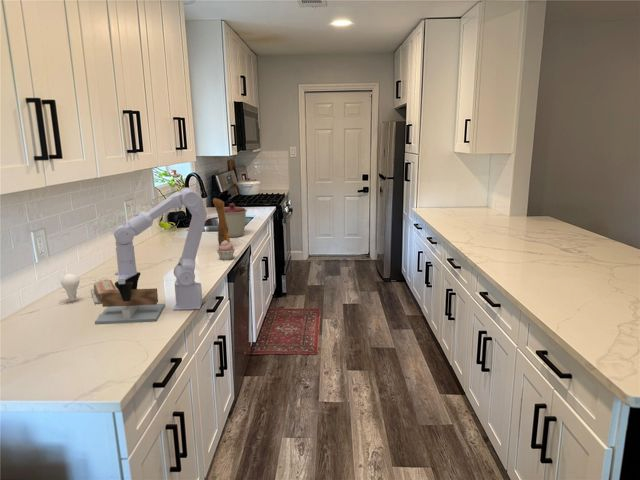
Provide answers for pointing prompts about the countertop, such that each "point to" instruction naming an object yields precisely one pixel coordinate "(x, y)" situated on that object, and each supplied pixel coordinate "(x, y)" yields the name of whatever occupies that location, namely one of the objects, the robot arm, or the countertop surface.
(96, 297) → the packaged product
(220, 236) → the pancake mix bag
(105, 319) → the ridge board
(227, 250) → the cupcake
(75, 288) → the lightbulb
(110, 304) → the walnut batten
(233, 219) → the canister
